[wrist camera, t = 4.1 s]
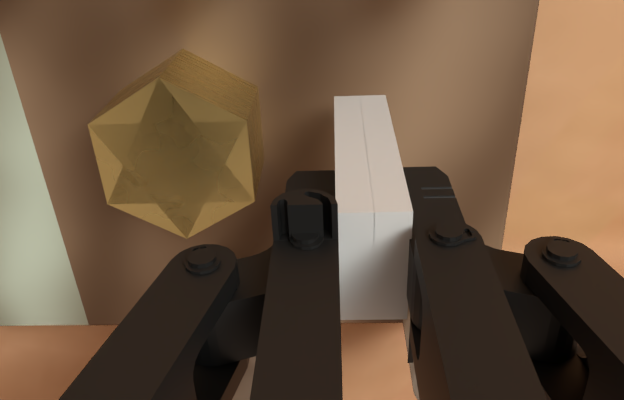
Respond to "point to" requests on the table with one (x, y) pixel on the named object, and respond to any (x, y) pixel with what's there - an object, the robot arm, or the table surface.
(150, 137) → the wooden star polyhedron
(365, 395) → the table surface
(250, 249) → the board
